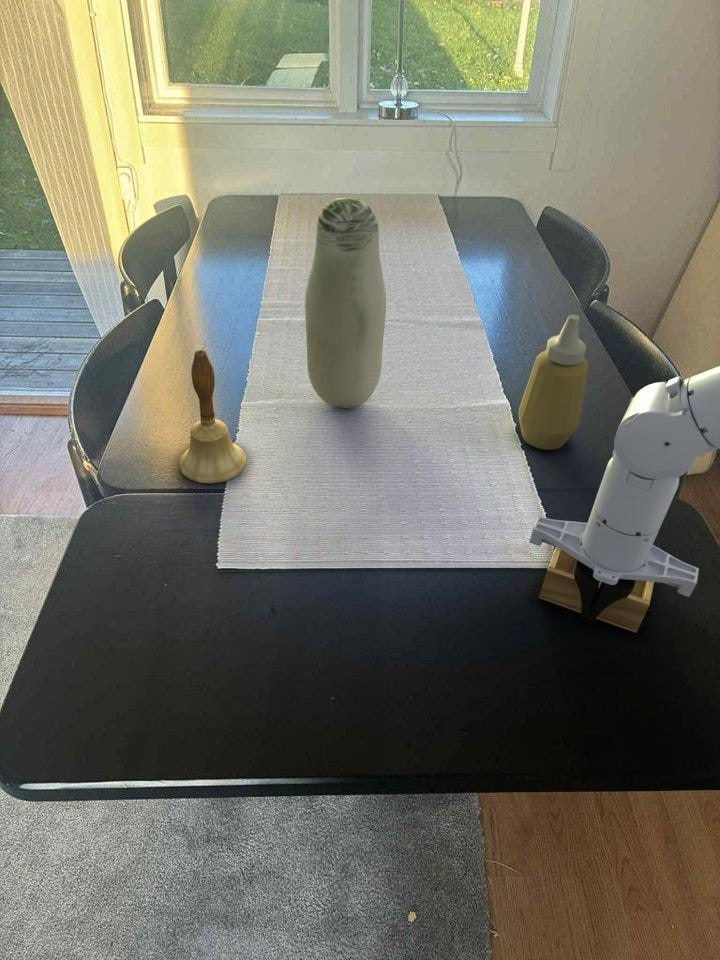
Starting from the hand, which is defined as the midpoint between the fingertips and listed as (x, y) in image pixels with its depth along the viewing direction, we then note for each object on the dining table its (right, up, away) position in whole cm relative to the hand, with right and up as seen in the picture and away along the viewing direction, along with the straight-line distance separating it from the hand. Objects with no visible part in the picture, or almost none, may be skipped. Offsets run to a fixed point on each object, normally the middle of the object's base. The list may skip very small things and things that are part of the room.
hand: (589, 611), depth 69 cm
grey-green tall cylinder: (-25, +25, +31) cm, 47 cm away
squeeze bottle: (+2, +19, +25) cm, 31 cm away
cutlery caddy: (+2, +2, +5) cm, 6 cm away
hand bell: (-41, +15, +19) cm, 48 cm away
